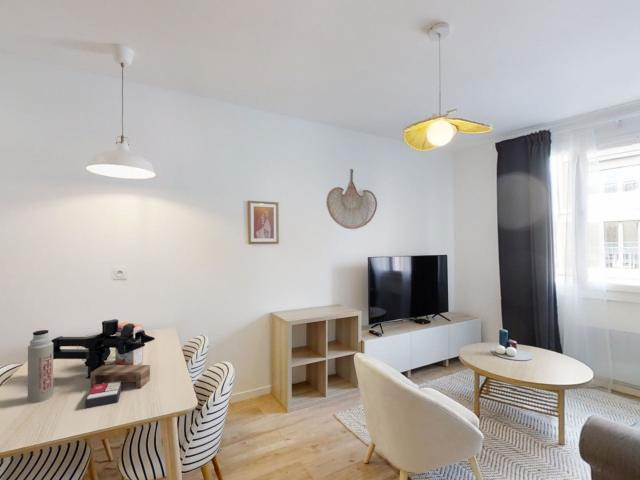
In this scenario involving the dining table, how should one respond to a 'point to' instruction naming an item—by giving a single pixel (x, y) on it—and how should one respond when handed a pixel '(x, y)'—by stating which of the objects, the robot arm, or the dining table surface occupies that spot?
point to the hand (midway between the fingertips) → (149, 341)
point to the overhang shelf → (121, 374)
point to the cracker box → (133, 356)
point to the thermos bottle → (40, 367)
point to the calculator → (104, 394)
